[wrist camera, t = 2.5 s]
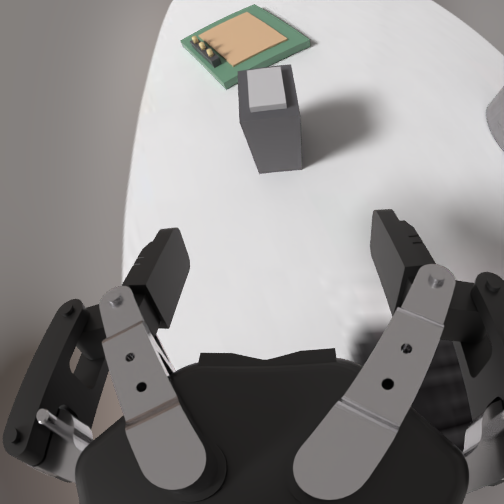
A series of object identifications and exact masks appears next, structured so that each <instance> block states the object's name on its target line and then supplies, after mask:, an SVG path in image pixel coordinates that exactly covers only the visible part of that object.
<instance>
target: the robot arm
mask: <svg viewBox="0 0 504 504" xmlns="http://www.w3.org/2000/svg"><path fill="white" fill-rule="evenodd" d="M486 117H487V122H488V125H489V128H490V130H491V132H492V134H493V136H494V138H495V140H496V141H497V143H498V144H499V146H500V147H501V148H502V150H503V151H504V86H503V88H502V89H501V90H500V91H499V93H498V94H497V95H496V96H495V98H494V99H493V100H492V101H491V103H490V104H489V105H488V107H487V110H486ZM370 249H371V256H372V259H373V261H374V264H375V267H376V270H377V272H378V275H379V278H380V281H381V284H382V286H383V289H384V292H385V295H386V298H387V301H388V304H389V307H390V311H391V314H392V319H391V321H390V322H389V324H388V326H387V328H386V330H385V331H384V333H383V335H382V337H381V338H380V340H379V342H378V343H377V345H376V347H375V348H374V350H373V352H372V353H371V355H370V357H369V358H368V360H367V361H366V363H365V365H364V366H361V365H359V364H357V363H355V362H352V361H349V360H345V359H341V358H336V353H335V348H331V349H319V350H306V351H299V352H295V353H291V354H288V355H284V356H280V357H276V358H273V359H268V360H262V359H257V358H252V357H247V356H242V355H238V354H233V353H200V358H199V362H198V363H194V364H191V365H188V366H186V367H183V368H181V369H179V370H177V371H176V370H175V369H174V367H173V365H172V363H171V361H170V359H169V357H168V355H167V353H166V351H165V349H164V347H163V345H162V343H161V341H160V339H159V337H158V336H157V334H156V333H157V330H158V328H165V329H169V327H170V324H171V321H172V318H173V315H174V312H175V309H176V307H177V304H178V301H179V298H180V295H181V292H182V289H183V287H184V284H185V281H186V278H187V275H188V273H189V269H190V260H189V256H188V253H187V250H186V247H185V244H184V241H183V238H182V235H181V233H180V230H179V229H178V228H168V229H161V230H159V232H158V234H157V235H156V237H155V239H154V240H153V242H150V243H149V244H148V245H147V246H146V247H144V248H143V249H142V251H141V253H140V254H139V256H138V259H136V261H135V263H134V266H132V268H131V270H130V272H129V273H128V275H127V277H126V279H125V281H124V282H123V284H122V286H118V287H115V288H113V289H111V290H109V291H108V292H107V293H106V294H104V295H103V297H102V298H101V300H100V303H99V304H98V305H95V306H91V307H88V308H85V306H84V305H83V303H82V302H81V301H80V300H79V299H73V300H70V301H68V302H66V303H64V304H63V305H62V306H61V307H60V308H59V309H58V311H57V313H56V314H55V316H54V318H53V320H52V322H51V324H50V326H49V328H48V329H47V331H46V333H45V335H44V337H43V339H42V341H41V343H40V345H39V347H38V349H37V351H36V353H35V355H34V357H33V359H32V362H31V364H30V366H29V368H28V370H27V373H26V375H25V377H24V380H23V382H22V384H21V387H20V390H19V392H18V394H17V397H16V399H15V402H14V404H13V407H12V410H11V412H10V415H9V418H8V421H7V424H6V427H5V430H4V434H3V444H4V448H5V450H6V451H7V453H8V454H10V455H11V456H13V457H15V458H17V459H18V460H21V461H22V462H24V463H25V464H26V465H28V466H30V467H32V468H34V469H36V470H38V471H40V472H42V473H44V474H46V475H48V476H52V477H55V478H58V479H60V480H62V481H65V482H74V483H76V487H77V491H78V497H79V504H462V503H463V501H464V498H465V495H466V494H467V493H470V492H473V491H475V490H478V489H480V488H483V487H485V486H495V485H498V484H500V483H502V482H504V280H503V279H502V278H500V277H499V276H498V275H496V274H493V273H490V272H483V273H480V274H479V275H478V276H477V278H476V280H475V283H469V282H462V281H457V280H455V277H454V275H453V274H452V272H450V271H449V270H448V269H447V268H445V267H443V266H441V265H437V264H436V263H435V262H434V260H433V258H432V256H431V255H430V253H429V251H428V250H427V248H426V246H425V245H424V243H423V242H422V240H421V238H420V237H419V236H418V234H417V232H416V230H415V229H414V227H413V226H411V225H410V224H408V223H407V222H406V221H399V219H398V218H397V216H396V215H395V213H394V211H393V210H392V209H385V210H374V211H373V216H372V229H371V241H370ZM487 334H488V336H489V338H488V336H487ZM440 339H441V340H449V341H453V344H454V347H455V351H456V354H457V357H458V361H459V364H460V368H461V371H462V375H463V379H464V383H465V387H466V391H467V396H468V400H469V405H470V410H471V415H472V420H473V421H472V422H471V423H470V425H469V426H468V428H467V430H466V434H465V443H464V451H463V453H462V452H461V451H460V449H459V448H458V447H457V446H455V445H454V444H453V443H452V442H451V441H450V440H448V439H447V438H446V437H445V436H444V435H443V434H442V433H440V432H439V431H438V430H437V429H436V428H435V427H434V426H432V425H431V424H430V423H429V422H428V421H427V420H426V419H424V418H423V417H422V416H421V415H420V414H419V413H418V412H416V411H415V410H414V409H413V408H412V407H411V404H412V402H413V400H414V398H415V396H416V394H417V392H418V390H419V388H420V386H421V383H422V381H423V379H424V377H425V375H426V372H427V370H428V368H429V365H430V363H431V360H432V358H433V355H434V353H435V350H436V348H437V345H438V342H439V340H440ZM489 339H490V341H491V344H492V346H491V344H490V341H489ZM75 347H77V348H78V349H79V350H80V351H81V352H82V354H81V356H80V359H79V362H78V364H77V366H76V369H75V371H74V374H73V373H72V372H71V370H70V366H69V362H70V358H71V356H72V354H73V352H74V349H75ZM108 371H110V375H111V378H112V382H113V385H114V388H115V391H116V394H117V397H118V400H119V403H120V406H121V409H122V412H123V416H122V417H121V418H120V419H119V420H117V421H116V422H115V423H114V424H113V425H112V426H110V427H109V428H108V429H107V430H106V431H105V432H103V433H102V434H101V435H100V436H99V437H97V438H96V439H95V440H93V436H92V432H91V428H92V424H93V421H94V417H95V413H96V409H97V406H98V403H99V400H100V397H101V393H102V390H103V387H104V384H105V381H106V377H107V374H108Z"/></svg>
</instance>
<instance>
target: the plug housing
mask: <svg viewBox="0 0 504 504" xmlns="http://www.w3.org/2000/svg"><path fill="white" fill-rule="evenodd" d="M237 72H238V96H239V119H240V125H241V127H242V130H243V132H244V135H245V137H246V140H247V143H248V145H249V148H250V150H251V153H252V156H253V158H254V161H255V164H256V166H257V169H258V172H259V174H262V173H271V172H281V171H292V170H302V152H301V123H300V112H299V106H298V100H297V94H296V89H295V84H294V78H293V73H292V68H291V65H281V66H271V67H263V68H255V69H248V70H242V71H237Z"/></svg>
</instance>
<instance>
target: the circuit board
mask: <svg viewBox="0 0 504 504" xmlns="http://www.w3.org/2000/svg"><path fill="white" fill-rule="evenodd" d="M180 42H181V43H182V45H183V47H184V48H185V49H186V50H187V51H188V52H189V53H190V54H191V55H192V56H194V57H195V58H196V59H197V60H198V61H199V62H200V63H201V64H202V65H203V66H204V67H205V68H206V69H207V70H208V71H209V72H210V73H211V74H212V75H213V76H214V77H215V79H216V80H217V81H218V82H219V83H220V84H221V85H222V86H223V87H224V88H225V89H228V88H230V87H231V86H233V85H235V84H237V83H238V72H237V71H242V70H248V69H255V68H263V67H268V66H270V65H272V64H274V63H276V62H278V61H280V60H282V59H284V58H286V57H288V56H290V55H292V54H295V53H297V52H299V51H301V50H303V49H306V48H308V47H310V39H308V38H307V37H305V36H304V35H302V34H301V33H300V32H298V31H297V30H295V29H294V28H292V27H291V26H289V25H288V24H286V23H285V22H283V21H282V20H280V19H278V18H277V17H275V16H274V15H272V14H270V13H269V12H267V11H265V10H264V9H262V8H260V7H258V6H257V5H255V4H254V5H252V6H249V7H247V8H245V9H242V10H240V11H238V12H235V13H233V14H231V15H229V16H227V17H225V18H222V19H220V20H218V21H216V22H214V23H212V24H210V25H208V26H206V27H204V28H203V29H201V30H199V31H197V32H195V33H193V34H191V35H190V36H188V37H186V38H184V39H183V40H181V41H180Z"/></svg>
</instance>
